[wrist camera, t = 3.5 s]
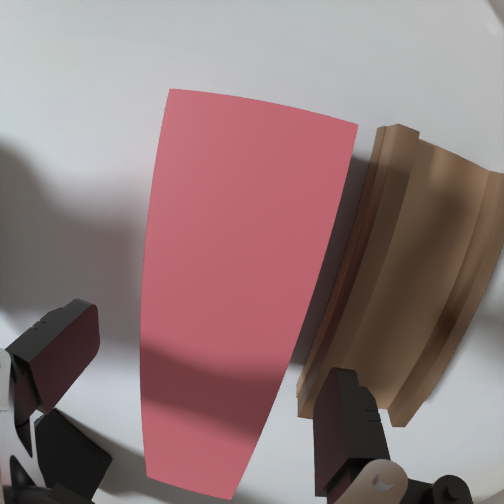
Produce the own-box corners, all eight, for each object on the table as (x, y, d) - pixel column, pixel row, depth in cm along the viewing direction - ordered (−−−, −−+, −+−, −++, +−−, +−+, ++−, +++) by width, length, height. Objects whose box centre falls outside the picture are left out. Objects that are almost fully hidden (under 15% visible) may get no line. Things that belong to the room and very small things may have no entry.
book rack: (490, 175, 16) (520, 182, 12) (396, 398, 22) (405, 427, 19) (377, 127, 16) (396, 123, 13) (296, 384, 22) (296, 416, 19)
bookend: (64, 472, 37) (15, 554, 15) (20, 433, 36) (-39, 512, 13) (116, 457, 30) (49, 588, 8) (52, 403, 29) (-40, 527, 7)
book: (313, 143, 17) (358, 124, 6) (258, 355, 22) (231, 500, 10) (246, 128, 17) (169, 88, 6) (205, 341, 22) (146, 476, 11)
